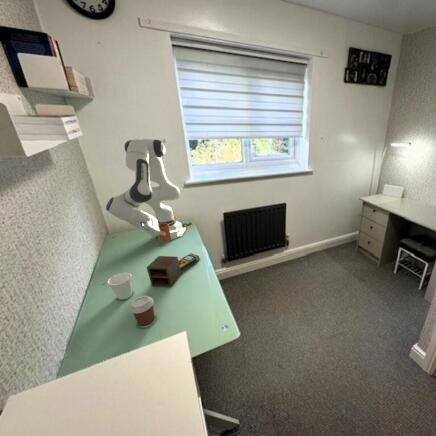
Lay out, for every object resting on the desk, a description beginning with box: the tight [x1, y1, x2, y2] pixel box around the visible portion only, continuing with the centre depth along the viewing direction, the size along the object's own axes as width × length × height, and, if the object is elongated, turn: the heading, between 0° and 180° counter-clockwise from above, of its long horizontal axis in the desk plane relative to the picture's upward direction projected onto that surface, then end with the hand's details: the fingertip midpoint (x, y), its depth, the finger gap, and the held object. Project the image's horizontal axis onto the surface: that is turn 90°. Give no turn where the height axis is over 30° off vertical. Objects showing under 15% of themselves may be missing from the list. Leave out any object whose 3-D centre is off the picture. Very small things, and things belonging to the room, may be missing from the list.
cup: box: [106, 272, 133, 300], centre depth 118 cm, size 10×10×11 cm
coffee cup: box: [128, 295, 156, 329], centre depth 103 cm, size 9×9×12 cm
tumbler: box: [156, 223, 172, 243], centre depth 134 cm, size 6×6×9 cm
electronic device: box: [178, 252, 200, 272], centre depth 145 cm, size 8×16×3 cm, turn 154°
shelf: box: [146, 255, 182, 288], centre depth 130 cm, size 11×11×12 cm
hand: (164, 231), depth 134 cm, fingers closed on tumbler, 6 cm apart
